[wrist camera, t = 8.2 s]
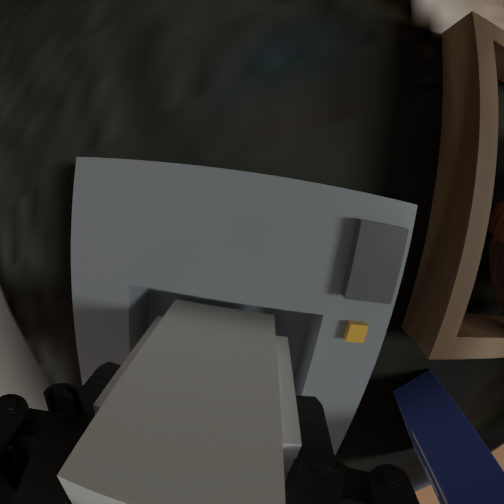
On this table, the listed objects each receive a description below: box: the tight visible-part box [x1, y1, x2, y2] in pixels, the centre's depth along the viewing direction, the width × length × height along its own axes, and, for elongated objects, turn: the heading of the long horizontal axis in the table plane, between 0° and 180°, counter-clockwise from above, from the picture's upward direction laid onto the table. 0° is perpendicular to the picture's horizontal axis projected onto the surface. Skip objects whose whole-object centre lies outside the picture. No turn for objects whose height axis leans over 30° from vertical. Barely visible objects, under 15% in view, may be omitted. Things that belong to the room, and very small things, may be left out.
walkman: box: [393, 369, 504, 504], centre depth 11 cm, size 8×3×12 cm, turn 29°
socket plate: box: [71, 157, 418, 455], centre depth 14 cm, size 14×16×4 cm
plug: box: [57, 299, 286, 504], centre depth 8 cm, size 4×4×12 cm
